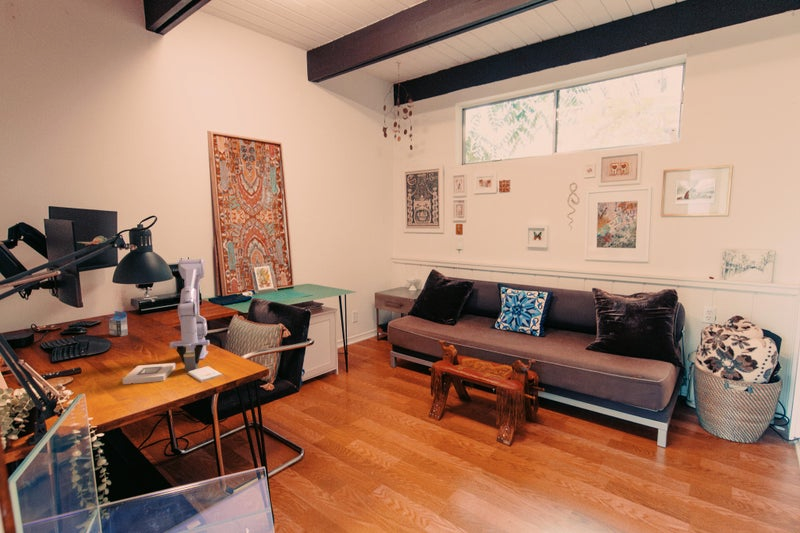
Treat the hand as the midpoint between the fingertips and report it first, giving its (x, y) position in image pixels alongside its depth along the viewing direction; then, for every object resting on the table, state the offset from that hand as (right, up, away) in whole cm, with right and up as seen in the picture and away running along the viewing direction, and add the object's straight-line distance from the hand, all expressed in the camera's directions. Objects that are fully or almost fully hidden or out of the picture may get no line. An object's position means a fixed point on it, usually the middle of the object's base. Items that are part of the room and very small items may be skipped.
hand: (191, 363), depth 167 cm
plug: (0, -2, 0) cm, 2 cm away
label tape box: (-63, +3, +47) cm, 79 cm away
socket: (-13, -3, -7) cm, 15 cm away
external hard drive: (+9, -4, -6) cm, 11 cm away
